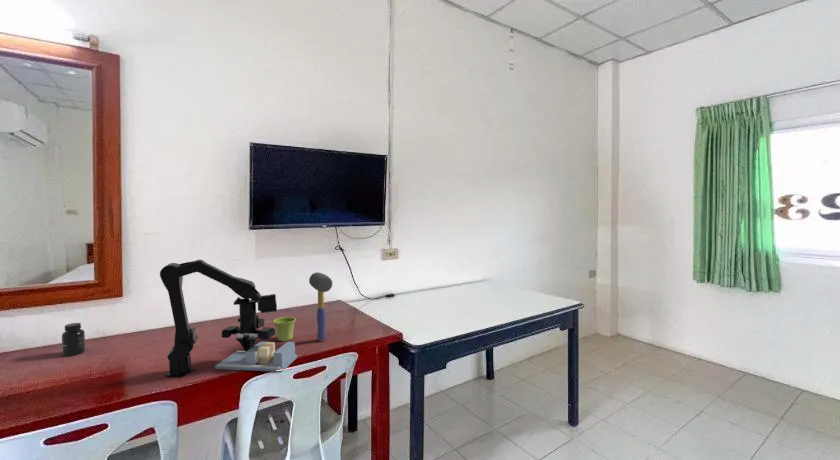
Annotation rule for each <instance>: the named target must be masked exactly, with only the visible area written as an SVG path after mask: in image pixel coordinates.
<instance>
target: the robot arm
mask: <svg viewBox="0 0 840 460" xmlns="http://www.w3.org/2000/svg"><path fill="white" fill-rule="evenodd" d="M195 273H199V274H201V275H203V276H206V277H207V278H209V279H212V280H213V281H216V282H217V283H219V284H221V285H224V286H226V287H228V288H229V289H230V290H232V292H234V294H236V295H238V296H237V298H236V299H235V300H234V301H233V305H234V306H236V305H237V306H238V307H239V309H238V310H239V318H237V323H239V326H237V325H230V326H227V327H226V328H224V329H222V330H221V332H220V335H221V338H222V339H223V338H224V339H229V338H230V337H231V336H232V335H236V338H235V340H236V341H237V342H238V343H239V344H240V345H241V346H242V348H243V351H248V350H249V349H251V348H252V347H254V346H255V343H256V341H257V339H259V340H269V339H271V338H272V337H274V336H275V335H276V328H274V327H268V326H267V327H265V321H266V320H265V318H259V315H258V314H257V311H258V312H260V313H261V314H266V313H267V314H268V313H275V312H277V311H278V309H277V308H278V307H277V298H276V297H277V296H276V295H277V294H275V293H272V294H265V295H262V294H261V293H260V292H259V291H258V290H257V289H256V285H255V283H254V282H253V281H252V280H248V279H246V278H242V277H237V276H233V275H232V274H229V273H227V272H225V271H224V270H221V269H220V268H218V267H216V266H213V265H212V264H209V263H207V262H206V261H205V260H203V259H197V260H196V259H195V260H193V261H187V262H182V263H177V262H171V263H168V264H167V265H165V266H164V267H162V268H161V270H160V271H159V277H160V280H161V282H162V284H163V286H164V288H165V289H166V290H167V292H168V298H169V302H170V307H171V313H172V317H173V323H174V327H175V333H174V342H173V343H174V346H173V347H171V349H170V351H169V352H168V354H167V356H166V358H167V359H168V366H169V368H168V369H169V372H168V373H166V374H165V377H174V378H182V377H184V376H187V374H189V373H191V372H193V371H194V370H195V367H192V361H191V360H192V357H191V352H192V351H193V349H194V347H195V345H196V342H197V340H198V335H197V327H191V325H190V324H189V319H188V318H189V317H188V313H187V307H186V303H185V297H184V292H183V280H184V277H185V276H188V275H191V274H195ZM260 328H262V329H260Z"/></svg>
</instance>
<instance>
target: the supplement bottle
mask: <svg viewBox="0 0 840 460" xmlns="http://www.w3.org/2000/svg"><path fill="white" fill-rule="evenodd" d="M61 343H62V344H61V347H62V348H61V349H62V355H63V356H64V357H74V356H78V355H81V354H83V353H85V352H86V335H85V330H84V329H82V324H81V322H73V323H72V322H71V323H68V324H65V325H64V332H63V333H62V334H61Z"/></svg>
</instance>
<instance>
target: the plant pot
mask: <svg viewBox="0 0 840 460" xmlns="http://www.w3.org/2000/svg"><path fill="white" fill-rule="evenodd" d="M296 320H297V319H296V318H295V317H291V316H285V317H284V316H283V317H278V318H276V319H274V320H273V323H274V326H275V332H276V335H277V341H281V342H286V341H287V342H289V340H292V339H293V336H294V335H293V334H294V328H295V327H294V326H295V322H296Z"/></svg>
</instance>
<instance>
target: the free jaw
mask: <svg viewBox="0 0 840 460" xmlns="http://www.w3.org/2000/svg"><path fill="white" fill-rule="evenodd" d="M266 342H267V341H259V342H257V343H256V344H254V346H253V347H252V348H251V349H249V350H248V351H246V362H247V365H255V364H256V363H258V348H259V347H260V346H262V345H263V344H264V343H266Z"/></svg>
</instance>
